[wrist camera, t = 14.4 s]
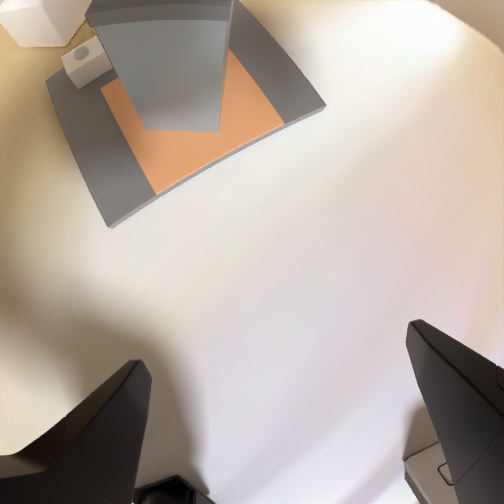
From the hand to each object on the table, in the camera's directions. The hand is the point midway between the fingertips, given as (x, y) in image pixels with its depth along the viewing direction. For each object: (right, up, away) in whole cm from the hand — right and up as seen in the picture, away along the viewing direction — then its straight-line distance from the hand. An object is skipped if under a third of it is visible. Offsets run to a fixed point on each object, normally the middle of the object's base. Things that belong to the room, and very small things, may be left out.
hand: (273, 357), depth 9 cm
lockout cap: (-5, +14, +10) cm, 18 cm away
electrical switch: (+20, -20, +14) cm, 32 cm away
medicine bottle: (-20, +27, +9) cm, 35 cm away
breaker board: (-7, +16, +11) cm, 21 cm away
